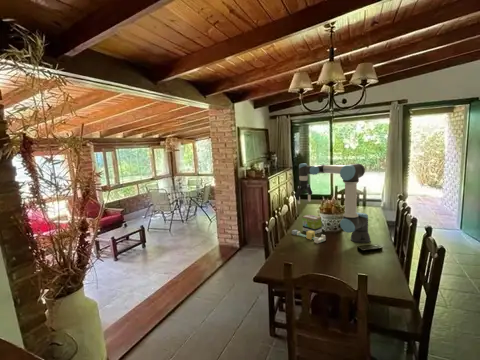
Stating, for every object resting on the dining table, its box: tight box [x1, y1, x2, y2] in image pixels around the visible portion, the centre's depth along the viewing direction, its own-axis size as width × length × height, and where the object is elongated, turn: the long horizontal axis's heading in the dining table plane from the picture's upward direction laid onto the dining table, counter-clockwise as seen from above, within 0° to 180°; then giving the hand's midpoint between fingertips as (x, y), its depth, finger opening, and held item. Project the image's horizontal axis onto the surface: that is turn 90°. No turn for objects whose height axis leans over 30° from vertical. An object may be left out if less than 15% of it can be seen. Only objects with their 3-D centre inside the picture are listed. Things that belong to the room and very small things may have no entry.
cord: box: [296, 233, 324, 243], centre depth 252 cm, size 32×2×2 cm, turn 35°
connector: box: [291, 229, 299, 236], centre depth 263 cm, size 4×4×3 cm
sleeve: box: [305, 230, 316, 241], centre depth 248 cm, size 5×5×6 cm
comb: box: [313, 234, 327, 244], centre depth 240 cm, size 4×10×4 cm, turn 126°
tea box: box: [302, 214, 323, 235], centre depth 266 cm, size 15×10×15 cm
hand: (304, 202), depth 266 cm, fingers open, 13 cm apart
